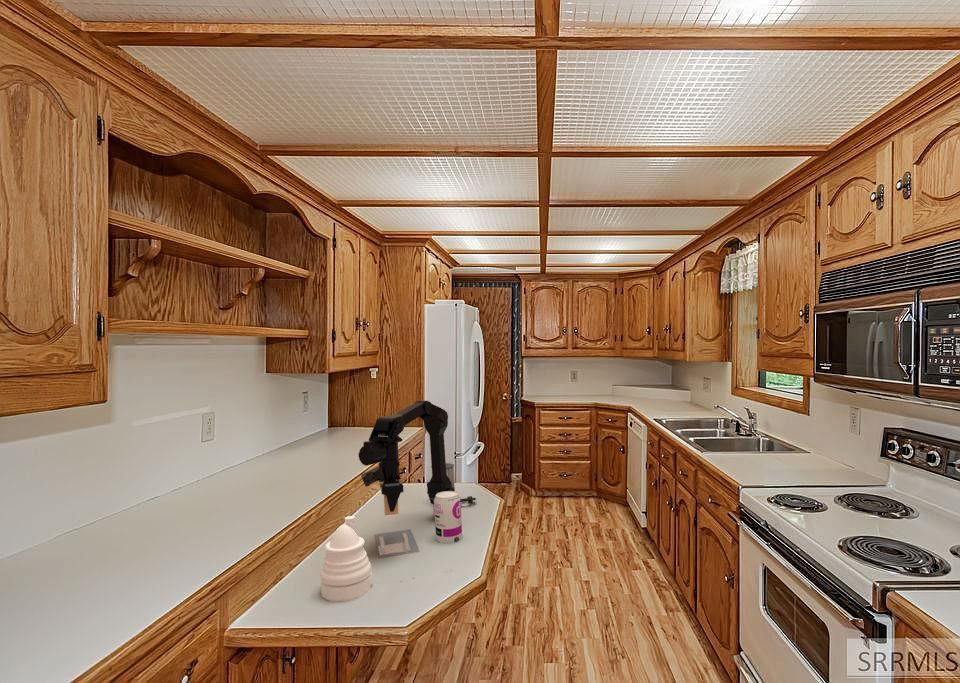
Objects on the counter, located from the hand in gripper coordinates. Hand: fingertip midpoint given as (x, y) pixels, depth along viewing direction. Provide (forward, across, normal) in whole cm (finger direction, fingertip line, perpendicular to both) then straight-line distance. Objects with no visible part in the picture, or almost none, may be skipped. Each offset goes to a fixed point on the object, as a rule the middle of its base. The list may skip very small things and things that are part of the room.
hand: (391, 509), depth 158 cm
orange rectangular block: (+1, 0, 0) cm, 1 cm away
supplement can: (+12, -1, +18) cm, 22 cm away
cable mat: (+12, -4, +1) cm, 13 cm away
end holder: (+11, +2, 0) cm, 12 cm away
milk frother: (+12, -38, +27) cm, 48 cm away
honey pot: (+13, +20, -14) cm, 28 cm away
